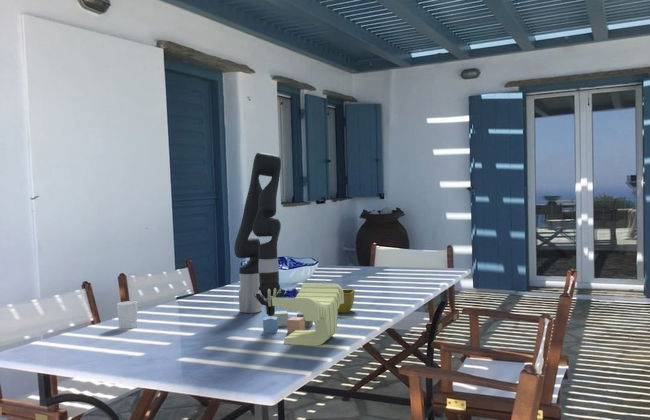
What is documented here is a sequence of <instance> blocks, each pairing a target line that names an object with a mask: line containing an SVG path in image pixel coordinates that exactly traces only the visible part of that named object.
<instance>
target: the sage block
mask: <svg viewBox="0 0 650 420" xmlns="http://www.w3.org/2000/svg"><path fill="white" fill-rule="evenodd" d="M288 314H289V313H288V311H287V310H277V311H276V310H275V314H274V316H273V317H278V327H287V320H288V319H289V316H288Z"/></svg>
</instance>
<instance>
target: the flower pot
mask: <svg viewBox="0 0 650 420" xmlns="http://www.w3.org/2000/svg"><path fill="white" fill-rule="evenodd" d="M342 289H343V293H344V304H343V303H342V304H340V306H339V308H338V309H337V313H338V314H339V313H341V314H342V313H344V314H346V313H350V312H351V310H352V309H353V305H354V302H355V289H344V288H342Z"/></svg>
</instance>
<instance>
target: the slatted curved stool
mask: <svg viewBox="0 0 650 420" xmlns="http://www.w3.org/2000/svg"><path fill="white" fill-rule="evenodd" d="M343 289H344V288H342V286H340V284H337V283H335V282H333V283H330V282H328V283H327V282H325V283H324V282H320V283H319V282H303V283H302V284H301V287H300V289H299V291H298V293H297V294H296V296H295V297H282V298H277V297H272V306H275V307H277V308H279V309H282V310H293V311H298V312H301V313H302V314H303V315H304V318H305V321H313V324H314V325H315V329H310V330H309V329H308V330H307V329H305V330H296V331H294V332H293V333H288V335H286V336H285V337H284V340H283V344H285V345H299V344H300V345H301V346H302V345H303V346H304V345H305V346H321V345H323V344H325V342H326V341H328V340H329V339H330V338H332V337H333V336H334V335H335V334H336V333H337V330H338V314H339V313H338V312H337V309H338V308H339V306H340V304H342V303H343V304H344V293H343Z"/></svg>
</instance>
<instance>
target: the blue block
mask: <svg viewBox="0 0 650 420" xmlns="http://www.w3.org/2000/svg"><path fill="white" fill-rule="evenodd" d="M262 326H263V327H262V331H263V334H273V333H274V334H276V333H278V331H279V326H278V317H274V316H264V317H263V319H262Z"/></svg>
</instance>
